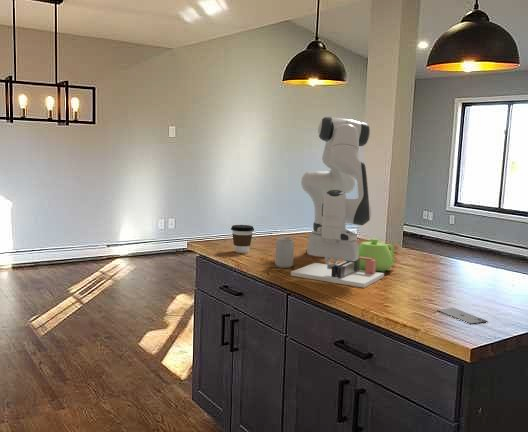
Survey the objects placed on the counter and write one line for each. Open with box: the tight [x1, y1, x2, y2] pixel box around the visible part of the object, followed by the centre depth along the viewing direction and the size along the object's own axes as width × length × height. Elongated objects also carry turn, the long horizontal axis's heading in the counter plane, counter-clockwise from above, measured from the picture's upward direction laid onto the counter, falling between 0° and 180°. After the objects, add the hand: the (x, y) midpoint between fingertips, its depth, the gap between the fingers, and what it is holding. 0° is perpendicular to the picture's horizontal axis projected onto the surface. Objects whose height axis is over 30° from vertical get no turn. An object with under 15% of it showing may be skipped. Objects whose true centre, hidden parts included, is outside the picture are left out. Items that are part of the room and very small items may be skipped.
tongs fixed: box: [337, 259, 360, 278], centre depth 219 cm, size 18×5×5 cm, turn 150°
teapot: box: [358, 238, 396, 273], centre depth 235 cm, size 22×15×13 cm
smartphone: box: [436, 307, 489, 325], centre depth 173 cm, size 7×1×15 cm
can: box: [274, 236, 295, 269], centre depth 235 cm, size 8×8×12 cm
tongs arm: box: [331, 260, 348, 277], centre depth 218 cm, size 14×2×4 cm, turn 151°
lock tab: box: [358, 257, 377, 274], centre depth 223 cm, size 3×6×6 cm, turn 60°
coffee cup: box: [230, 224, 255, 254], centre depth 264 cm, size 11×11×12 cm
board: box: [290, 262, 385, 289], centre depth 221 cm, size 22×30×2 cm
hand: (331, 269), depth 216 cm, fingers closed
